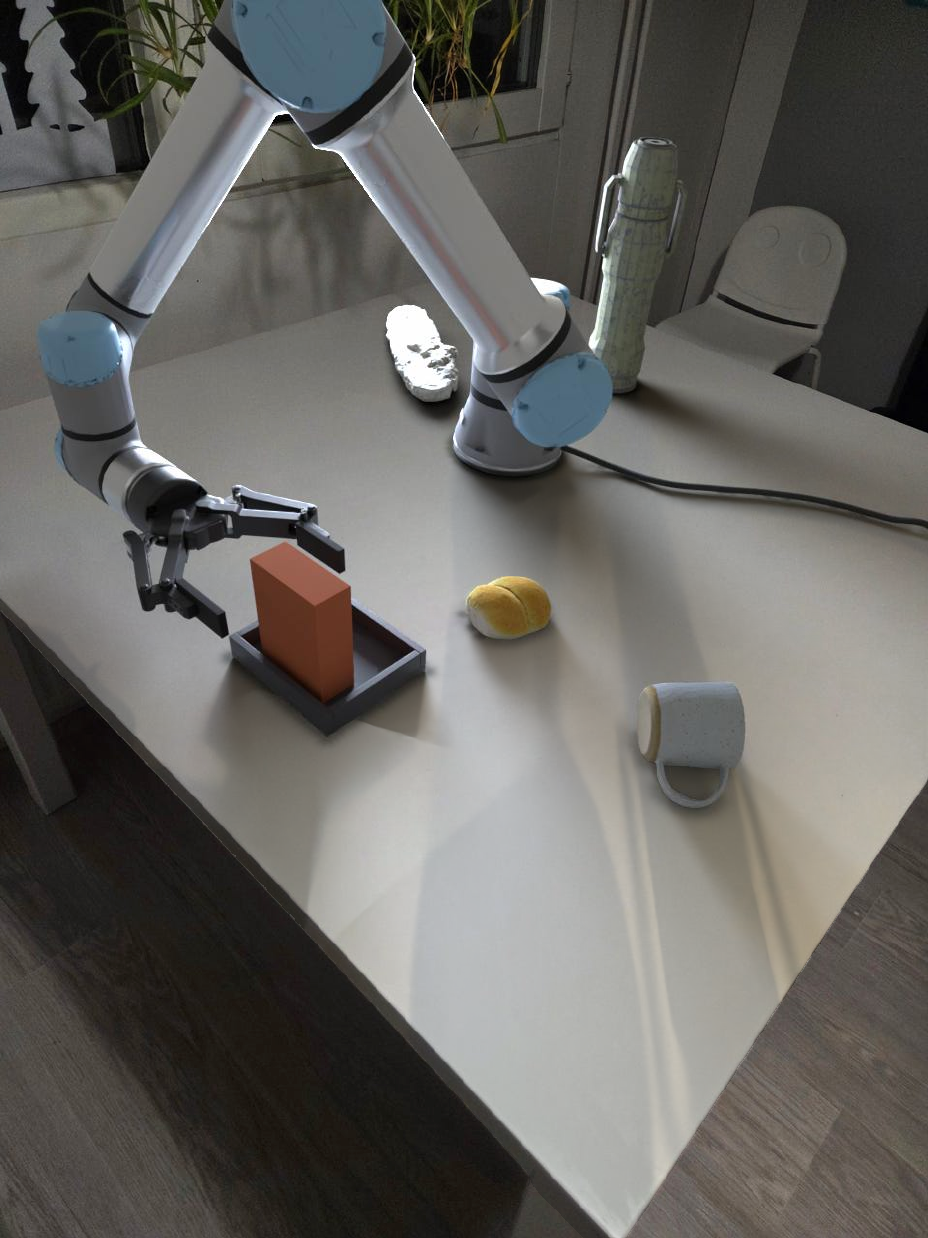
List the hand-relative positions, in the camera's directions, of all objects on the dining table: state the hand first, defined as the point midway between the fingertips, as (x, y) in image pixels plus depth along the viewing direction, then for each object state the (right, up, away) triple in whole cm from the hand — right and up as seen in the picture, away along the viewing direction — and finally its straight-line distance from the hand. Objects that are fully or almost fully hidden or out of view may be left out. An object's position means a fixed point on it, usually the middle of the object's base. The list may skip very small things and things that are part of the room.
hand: (286, 591), depth 76 cm
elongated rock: (+9, +41, +62) cm, 74 cm away
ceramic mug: (+36, -16, -1) cm, 40 cm away
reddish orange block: (+1, -7, +4) cm, 8 cm away
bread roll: (+21, -2, +13) cm, 25 cm away
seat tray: (+3, -7, +6) cm, 10 cm away
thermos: (+41, +37, +60) cm, 81 cm away
